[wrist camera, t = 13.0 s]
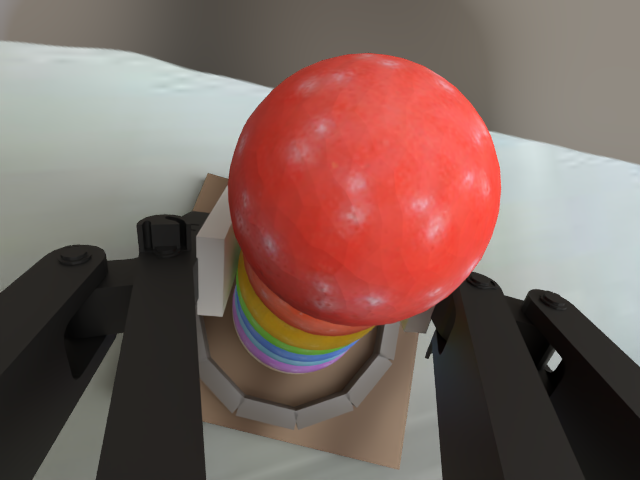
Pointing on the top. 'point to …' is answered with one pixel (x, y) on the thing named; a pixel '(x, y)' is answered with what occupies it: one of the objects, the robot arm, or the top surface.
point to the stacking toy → (355, 205)
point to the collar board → (308, 385)
